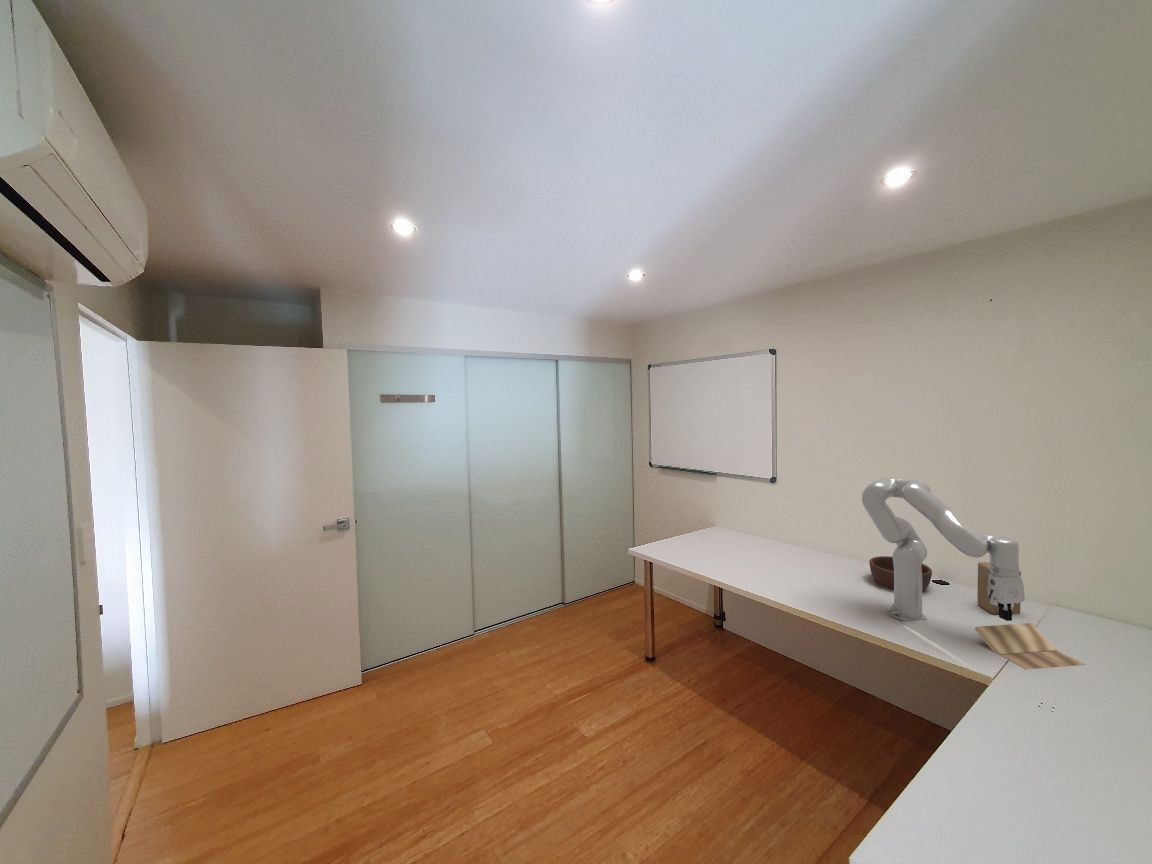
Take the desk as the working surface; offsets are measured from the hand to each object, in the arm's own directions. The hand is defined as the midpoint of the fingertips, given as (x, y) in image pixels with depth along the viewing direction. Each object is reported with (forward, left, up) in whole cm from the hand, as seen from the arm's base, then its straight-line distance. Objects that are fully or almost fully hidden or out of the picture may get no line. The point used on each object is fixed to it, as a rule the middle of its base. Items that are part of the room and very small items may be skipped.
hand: (1005, 618), depth 155 cm
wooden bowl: (+5, +54, -11) cm, 55 cm away
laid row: (+1, -11, -10) cm, 15 cm away
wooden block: (+24, +24, -10) cm, 35 cm away
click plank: (+1, -2, -7) cm, 7 cm away
